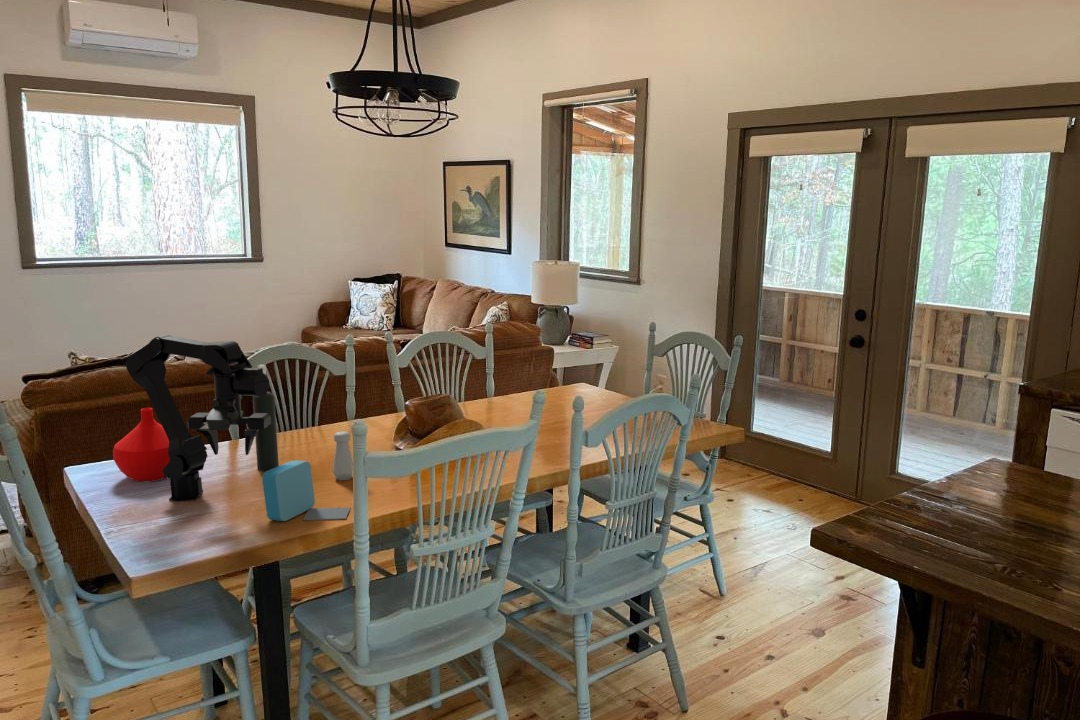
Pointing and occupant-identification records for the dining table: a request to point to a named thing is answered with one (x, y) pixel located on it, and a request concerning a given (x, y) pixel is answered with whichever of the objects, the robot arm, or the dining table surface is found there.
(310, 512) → the felt pad
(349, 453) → the salt shaker
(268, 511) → the data package
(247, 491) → the dining table surface
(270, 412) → the wine bottle
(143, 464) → the vase
